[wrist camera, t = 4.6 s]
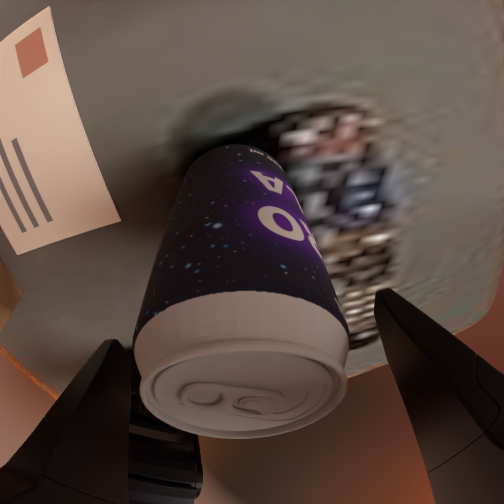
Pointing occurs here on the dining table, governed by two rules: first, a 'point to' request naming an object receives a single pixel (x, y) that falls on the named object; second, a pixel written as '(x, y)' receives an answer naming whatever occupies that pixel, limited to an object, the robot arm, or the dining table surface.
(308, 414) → the beverage can
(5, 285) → the walnut block
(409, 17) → the dining table surface
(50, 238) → the letter
